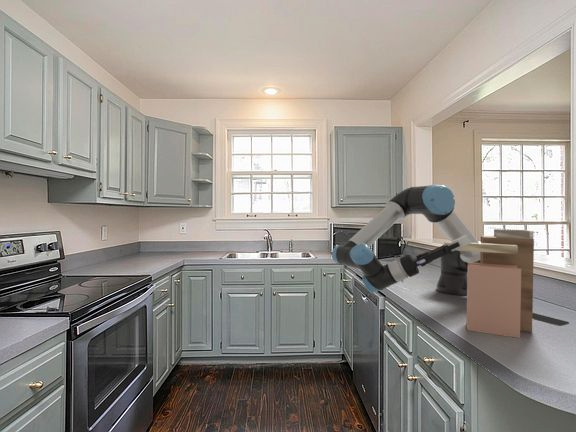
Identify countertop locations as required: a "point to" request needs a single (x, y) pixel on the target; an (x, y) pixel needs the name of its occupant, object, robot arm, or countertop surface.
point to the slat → (489, 248)
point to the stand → (520, 260)
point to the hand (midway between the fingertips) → (468, 238)
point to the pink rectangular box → (494, 299)
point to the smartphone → (548, 319)
